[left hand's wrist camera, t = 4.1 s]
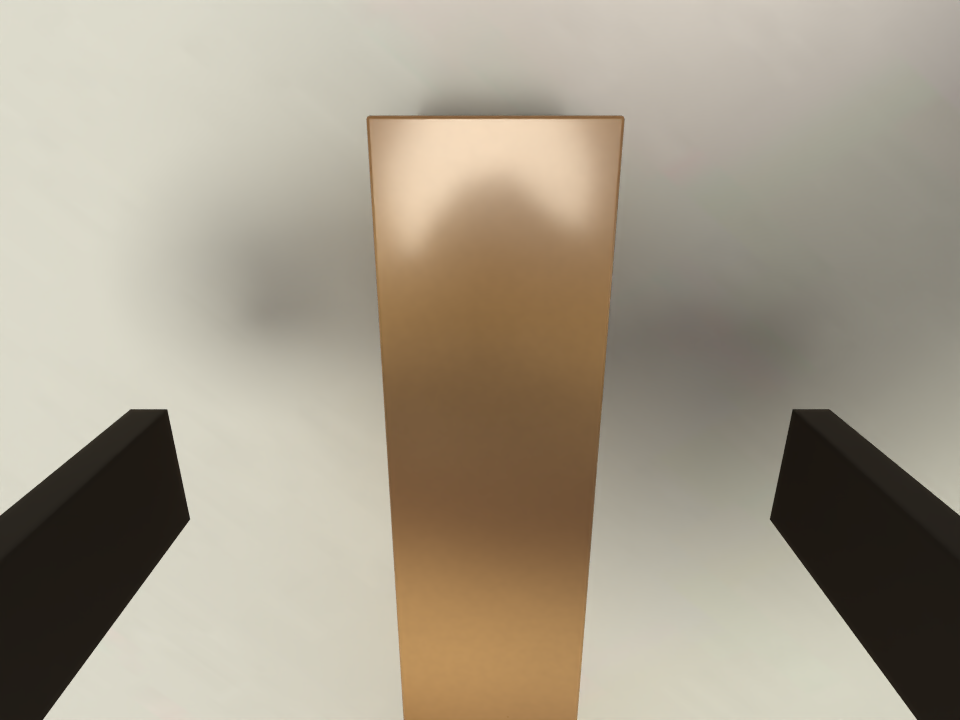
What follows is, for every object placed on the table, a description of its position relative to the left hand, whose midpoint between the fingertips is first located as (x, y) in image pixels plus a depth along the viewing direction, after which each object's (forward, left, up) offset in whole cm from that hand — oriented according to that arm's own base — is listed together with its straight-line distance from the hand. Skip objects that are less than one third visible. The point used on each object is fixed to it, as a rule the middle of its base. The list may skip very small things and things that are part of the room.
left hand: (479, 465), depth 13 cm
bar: (-3, +29, -10) cm, 31 cm away
